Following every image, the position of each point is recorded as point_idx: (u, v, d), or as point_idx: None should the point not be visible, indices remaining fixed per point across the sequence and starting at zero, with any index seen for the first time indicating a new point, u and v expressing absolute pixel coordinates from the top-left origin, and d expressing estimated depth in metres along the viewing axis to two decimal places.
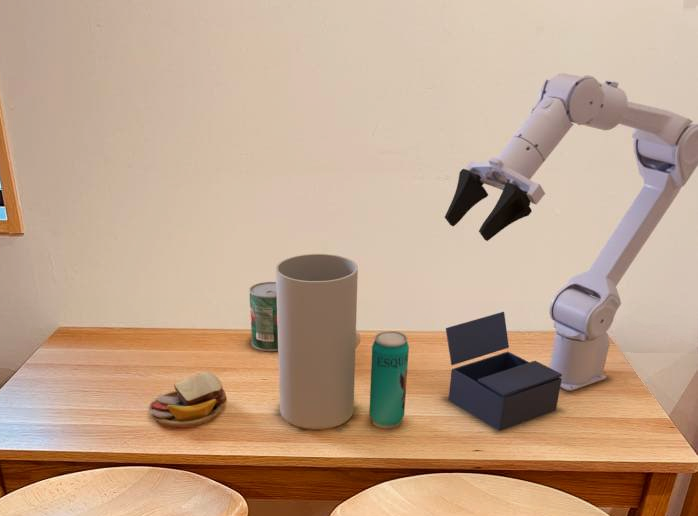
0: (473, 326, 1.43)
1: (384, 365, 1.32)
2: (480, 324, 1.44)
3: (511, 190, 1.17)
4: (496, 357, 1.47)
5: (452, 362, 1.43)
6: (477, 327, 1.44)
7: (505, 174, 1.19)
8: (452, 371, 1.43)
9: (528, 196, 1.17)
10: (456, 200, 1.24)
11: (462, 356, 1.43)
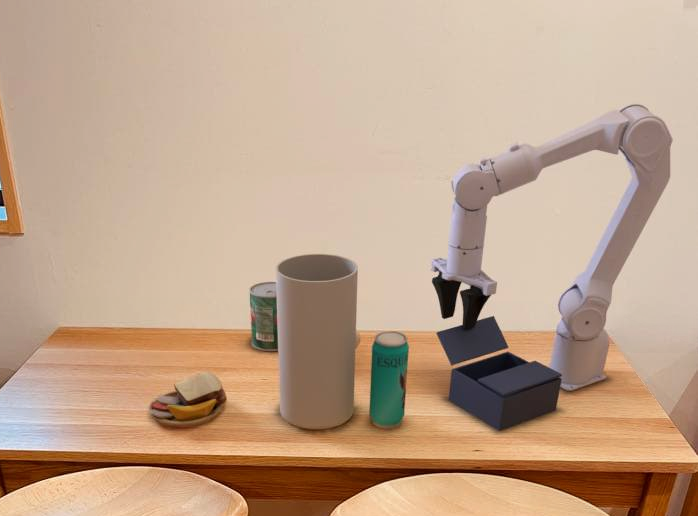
0: (464, 329, 1.46)
1: (384, 365, 1.32)
2: None
3: (466, 298, 1.40)
4: (496, 357, 1.47)
5: (451, 362, 1.43)
6: (469, 330, 1.46)
7: None
8: (452, 371, 1.43)
9: None
10: (442, 304, 1.47)
11: (460, 356, 1.44)
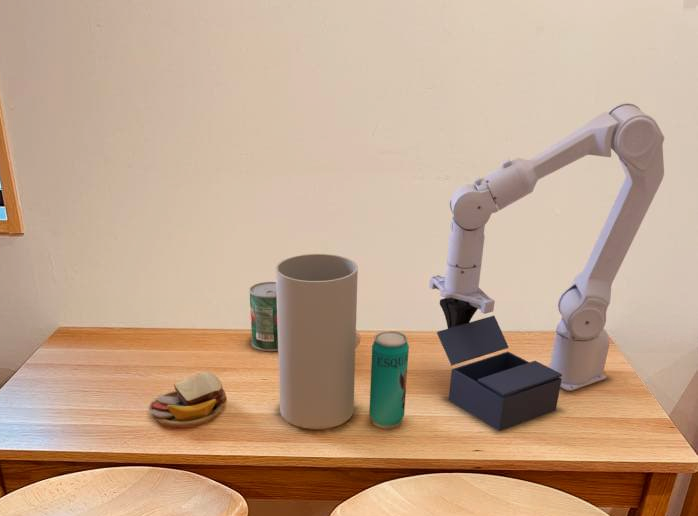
0: (465, 329, 1.45)
1: (384, 365, 1.32)
2: (472, 327, 1.46)
3: (454, 311, 1.43)
4: (496, 357, 1.47)
5: (451, 362, 1.43)
6: (469, 330, 1.46)
7: None
8: (452, 371, 1.43)
9: None
10: (450, 325, 1.47)
11: (460, 356, 1.44)
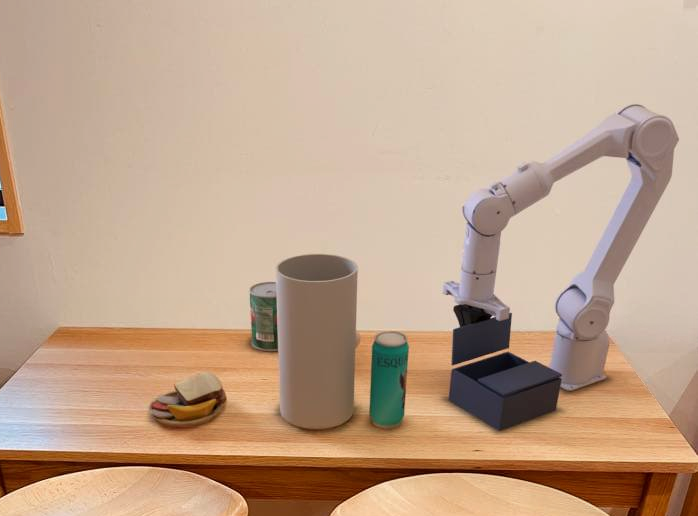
0: (480, 327, 1.42)
1: (384, 365, 1.32)
2: (487, 325, 1.43)
3: (468, 317, 1.41)
4: (496, 357, 1.47)
5: (453, 362, 1.43)
6: (483, 328, 1.43)
7: None
8: (452, 371, 1.43)
9: None
10: None
11: (463, 357, 1.43)
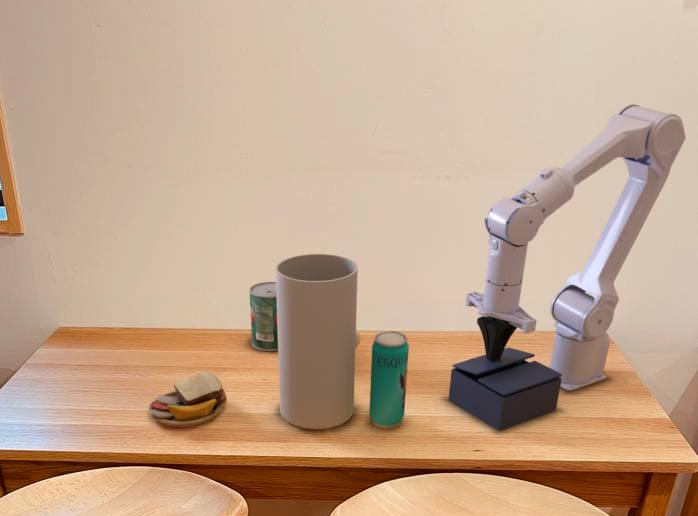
0: None
1: (384, 365, 1.32)
2: None
3: (493, 330, 1.37)
4: None
5: (454, 366, 1.43)
6: None
7: None
8: (452, 371, 1.43)
9: None
10: (487, 345, 1.41)
11: None
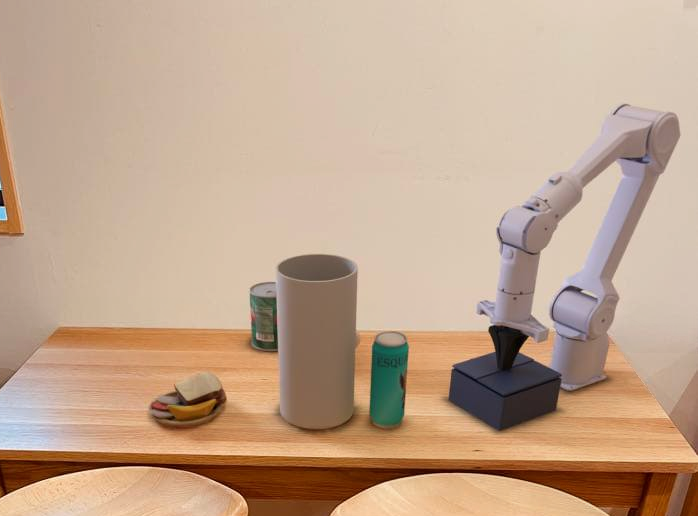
0: None
1: (384, 365, 1.32)
2: None
3: (505, 339, 1.35)
4: None
5: (454, 367, 1.43)
6: None
7: None
8: (452, 371, 1.43)
9: None
10: (499, 354, 1.39)
11: None
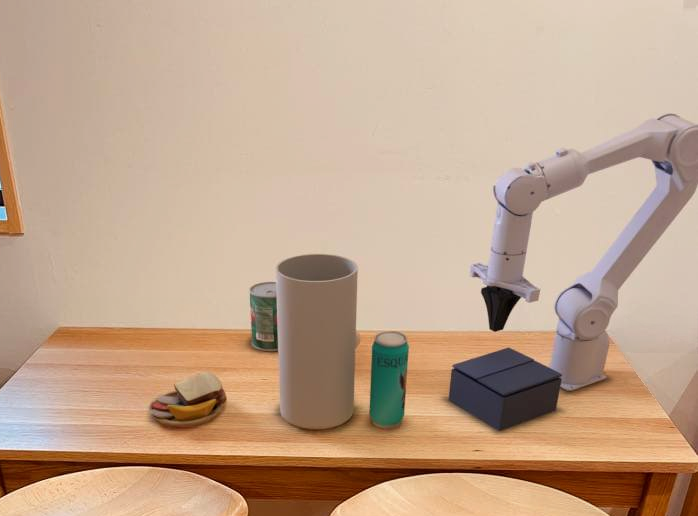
0: None
1: (384, 365, 1.32)
2: None
3: (497, 299, 1.39)
4: None
5: (454, 367, 1.43)
6: None
7: None
8: (452, 371, 1.43)
9: None
10: (491, 315, 1.43)
11: None
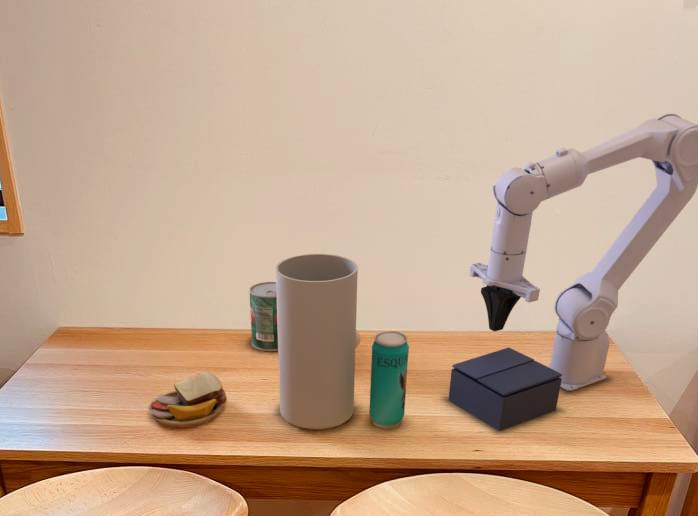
0: None
1: (384, 365, 1.32)
2: None
3: (497, 299, 1.39)
4: None
5: (454, 367, 1.43)
6: None
7: None
8: (452, 371, 1.43)
9: None
10: (490, 315, 1.43)
11: None
